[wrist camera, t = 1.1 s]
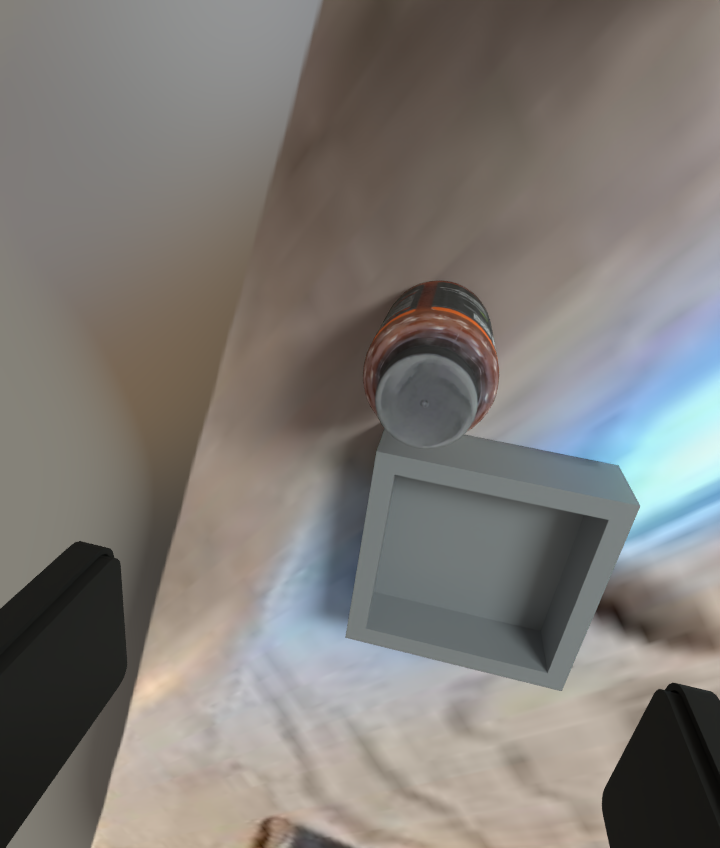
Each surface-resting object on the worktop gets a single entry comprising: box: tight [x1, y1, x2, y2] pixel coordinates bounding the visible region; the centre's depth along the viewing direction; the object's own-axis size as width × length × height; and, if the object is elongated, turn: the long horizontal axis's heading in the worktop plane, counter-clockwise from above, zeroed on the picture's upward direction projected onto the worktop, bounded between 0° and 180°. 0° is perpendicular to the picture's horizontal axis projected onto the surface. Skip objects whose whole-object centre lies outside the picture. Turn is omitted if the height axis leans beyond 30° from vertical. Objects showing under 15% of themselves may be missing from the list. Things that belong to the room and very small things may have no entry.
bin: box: [345, 429, 640, 691], centre depth 34 cm, size 14×14×4 cm
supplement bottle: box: [363, 281, 499, 449], centre depth 26 cm, size 6×6×11 cm
